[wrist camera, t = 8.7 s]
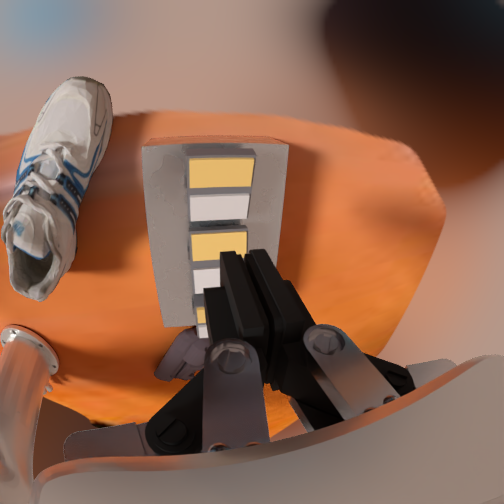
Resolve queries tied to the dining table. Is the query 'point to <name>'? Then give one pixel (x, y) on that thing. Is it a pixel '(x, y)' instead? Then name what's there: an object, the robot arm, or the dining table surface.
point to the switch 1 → (200, 316)
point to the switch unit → (177, 225)
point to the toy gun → (183, 356)
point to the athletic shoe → (55, 185)
